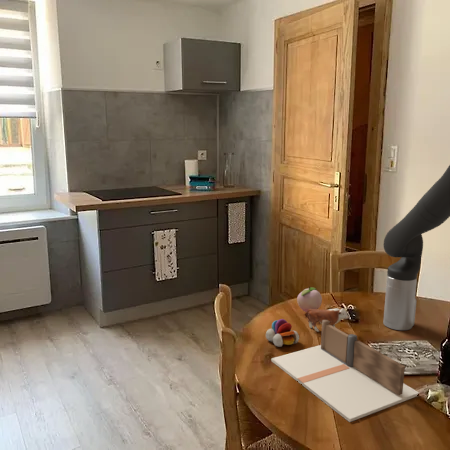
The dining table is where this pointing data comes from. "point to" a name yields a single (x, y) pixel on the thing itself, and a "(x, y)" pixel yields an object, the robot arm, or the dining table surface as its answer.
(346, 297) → the dining table surface
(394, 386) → the hinged fence panel
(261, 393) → the dining table surface
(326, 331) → the board
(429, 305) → the dining table surface
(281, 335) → the rainbow toy vehicle
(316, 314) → the bull figurine
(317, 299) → the decorative fruit
